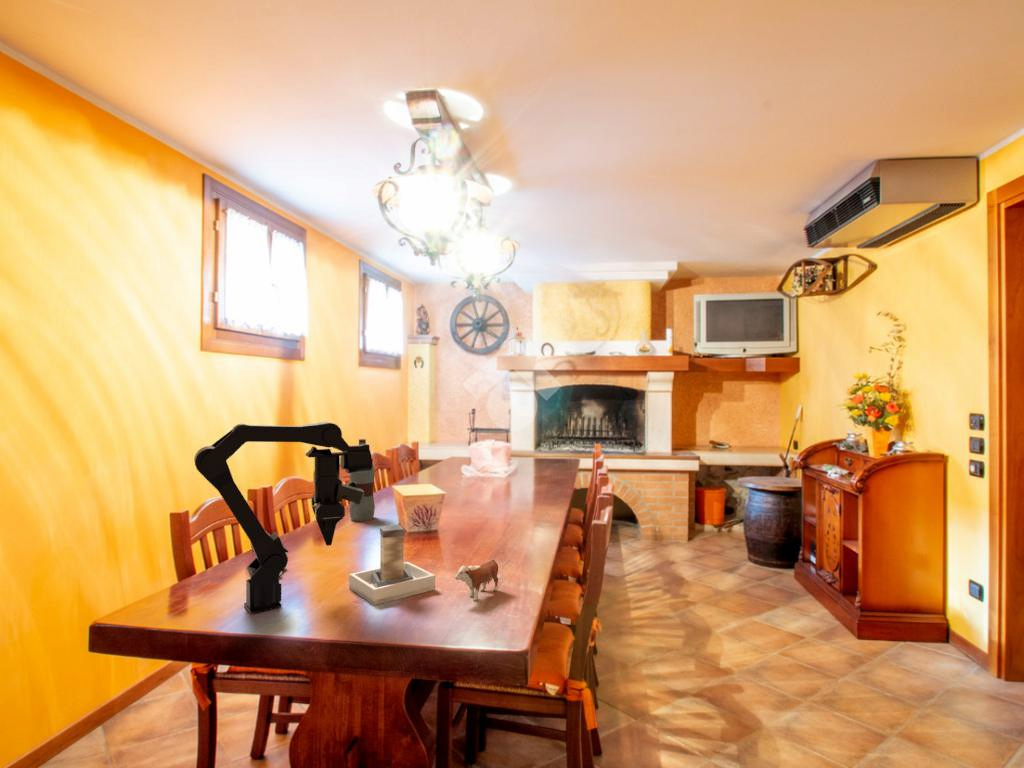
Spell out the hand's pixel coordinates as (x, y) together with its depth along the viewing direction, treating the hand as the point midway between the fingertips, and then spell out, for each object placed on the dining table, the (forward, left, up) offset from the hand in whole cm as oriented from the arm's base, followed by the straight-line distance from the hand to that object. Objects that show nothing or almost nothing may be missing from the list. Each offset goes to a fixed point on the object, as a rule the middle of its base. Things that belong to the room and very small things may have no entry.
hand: (327, 540), depth 136 cm
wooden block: (+14, -6, -12) cm, 19 cm away
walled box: (+14, -6, -13) cm, 20 cm away
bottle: (+40, +70, -13) cm, 82 cm away
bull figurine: (+28, -23, -13) cm, 39 cm away
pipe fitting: (-4, +25, -14) cm, 29 cm away
